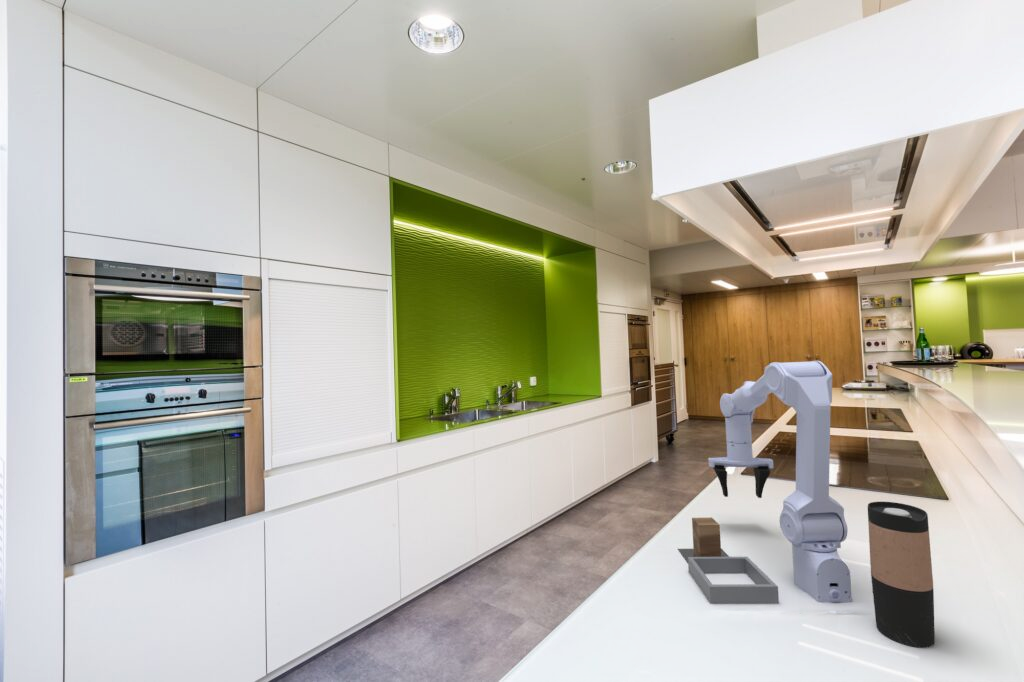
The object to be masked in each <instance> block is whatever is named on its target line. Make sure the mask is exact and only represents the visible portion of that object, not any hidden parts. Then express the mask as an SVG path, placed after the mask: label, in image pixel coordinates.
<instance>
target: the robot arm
mask: <svg viewBox="0 0 1024 682" xmlns="http://www.w3.org/2000/svg"><path fill="white" fill-rule="evenodd" d="M763 370H764V372H763V375H762V376H760V378H758V379H757V380H756V381H752V380H747V381H746V380H745V381H744V382H743V385H742V386H740V387H739V388H736V389H735V390H734V392H732V393H722V395H721V397H720V399H719V408H720V412H721V413H722V414H721V415H723V416H724V420H725V439H726V441H725V442H726V456H723V457H722V456H720V457H708V461H707V462H708V467H710V468H713V470H714V472H715V474H716V476H717V478H718V480H719V484H720V487H721V491H722V495H723V496H724V497H726V498H727V497H729V491H728V471H727V469H726V468H730V467H731V468H753V472H754V480H755V481H754V482H755V496H756V497H757V498H758V499H762V498H763V491H764V488H765V484H766V482H767V480H768V478H769V476H770V474H771V470H770V469H774V460H773V459H772V458H762V457H761V458H760V457H753V442H752V441H753V439H752V438H753V437H752V424H753V421H754V414H755V411H756V409H757V408H758V407H760V406H761V405H764V403H765V402H767V400H768V395H770V394H773V395H774V396H776V397H777V399H779V400H780V401H781V402H782V403H783V404H784V405H785V406H787V407H791V408H793V409H794V411H795V413H796V433H795V434H796V437H795V438H796V439H795V441H796V442H795V443H796V444H795V445H796V446H795V449H796V450H795V490H794V491H793V492H792V493H791V494H789V495H788V496H787V497H786V498H784V499H783V501H782V502H783V503H782V510H781V513H780V515H779V527H780V530H781V532H782V534H783V536H784V537H785V538H786V540H787V541H788V542H790V543H791V550H792V551H791V553H792V571H793V583H794V585H795V586H796V588H798V589H799V590H802V591H803V592H805V593H807V594H808V595H809V597H811V598H812V599H813V600H815V601H816V602H817V603H853V600H852V599H853V598H852V597H853V596H852V585H851V584H852V583H851V582H852V581H851V572H850V571H851V570H850V568H849V566H848V565H847V563H846V562H844V560H843V559H842V558H841V557H840V555H839V552H838V549H841V548H842V545H841V544H842V542H844V541H846V539H847V537H848V524H847V521H846V519H845V508H844V507H843V506H842V505H841V504H840V503H839V502H838V501H837V500H836V499H834V498H833V497H831V496H830V463H831V461H830V454H831V450H830V449H831V404H832V403H833V373H832V372H831V371H830V369H829V368H828V367H827V366H826V364H824V362H822V361H820V360H812V361H793V362H792V361H791V362H789V361H788V362H778V361H777V362H776V361H774V362H771V363H769V364H768V365H767V366H765V367H764V369H763Z"/></svg>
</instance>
